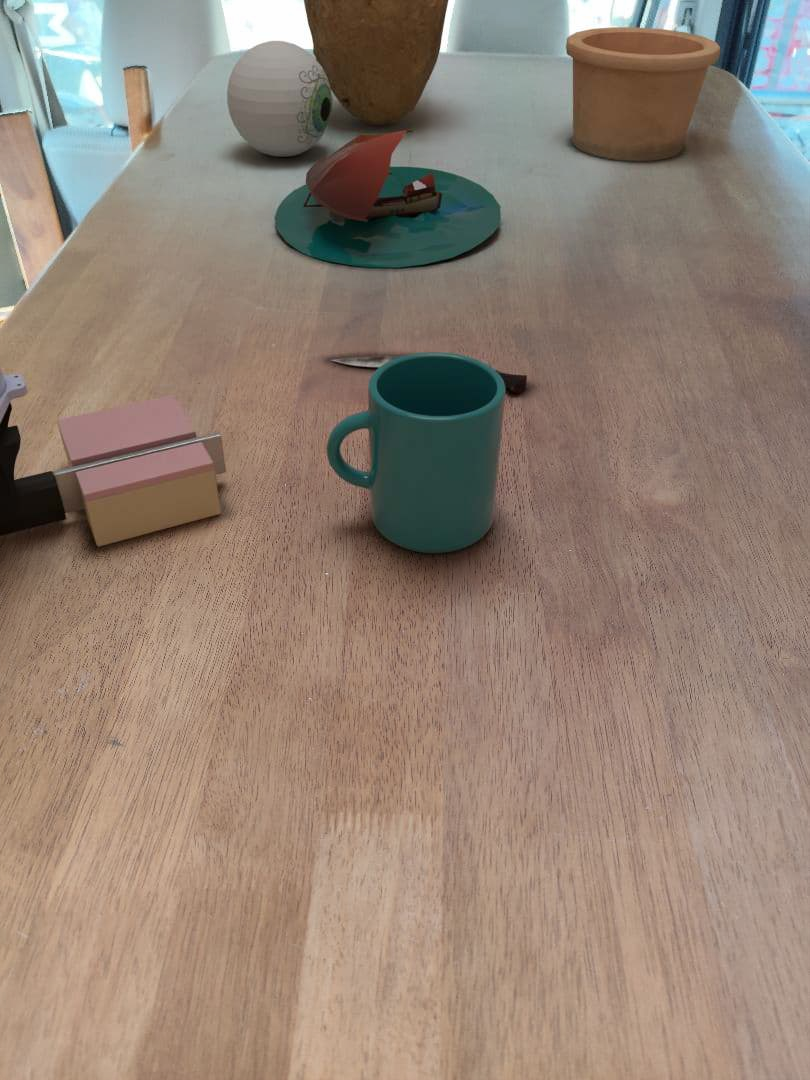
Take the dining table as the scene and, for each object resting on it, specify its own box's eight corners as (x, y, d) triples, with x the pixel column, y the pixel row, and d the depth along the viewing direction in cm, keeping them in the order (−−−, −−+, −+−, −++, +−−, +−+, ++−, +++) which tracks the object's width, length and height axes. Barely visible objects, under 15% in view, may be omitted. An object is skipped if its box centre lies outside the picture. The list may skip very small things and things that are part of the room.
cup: (333, 482, 70) (327, 350, 63) (488, 482, 70) (499, 351, 63) (326, 557, 63) (318, 419, 56) (498, 558, 63) (512, 420, 56)
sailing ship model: (256, 197, 120) (243, 109, 112) (453, 166, 125) (455, 80, 118) (306, 297, 100) (295, 200, 93) (536, 255, 106) (545, 160, 98)
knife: (322, 364, 82) (337, 343, 86) (323, 379, 83) (338, 357, 87) (524, 383, 79) (530, 360, 83) (523, 397, 80) (529, 374, 84)
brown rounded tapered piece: (469, 116, 152) (478, -61, 136) (415, 152, 136) (419, -44, 120) (349, 100, 159) (345, -70, 143) (285, 133, 143) (273, -55, 127)
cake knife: (-54, 550, 61) (-70, 510, 59) (-57, 533, 63) (-73, 494, 61) (229, 477, 68) (224, 440, 66) (221, 464, 70) (216, 426, 68)
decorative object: (293, 177, 126) (285, 58, 117) (211, 158, 132) (198, 44, 123) (354, 150, 136) (351, 39, 127) (275, 135, 142) (267, 27, 133)
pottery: (696, 173, 129) (719, 62, 120) (544, 158, 134) (555, 50, 125) (701, 133, 145) (722, 32, 136) (565, 121, 150) (577, 23, 141)
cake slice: (97, 547, 63) (83, 494, 60) (89, 523, 65) (74, 471, 62) (221, 514, 66) (213, 462, 64) (209, 492, 69) (201, 441, 66)
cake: (85, 512, 66) (71, 460, 64) (70, 470, 71) (56, 419, 68) (203, 481, 70) (195, 431, 67) (182, 443, 74) (174, 393, 71)
